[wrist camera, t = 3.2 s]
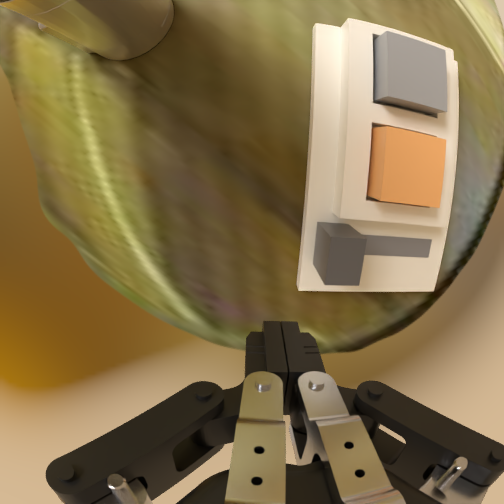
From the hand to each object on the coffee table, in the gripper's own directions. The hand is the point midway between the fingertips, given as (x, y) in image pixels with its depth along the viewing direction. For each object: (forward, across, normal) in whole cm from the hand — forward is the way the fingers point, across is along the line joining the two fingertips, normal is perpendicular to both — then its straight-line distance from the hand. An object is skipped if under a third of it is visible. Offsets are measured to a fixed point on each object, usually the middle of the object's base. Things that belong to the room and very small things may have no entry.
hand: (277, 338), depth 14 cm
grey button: (+15, -12, -16) cm, 25 cm away
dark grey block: (+16, -6, 0) cm, 17 cm away
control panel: (+18, -12, -8) cm, 23 cm away
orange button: (+15, -12, -8) cm, 20 cm away
